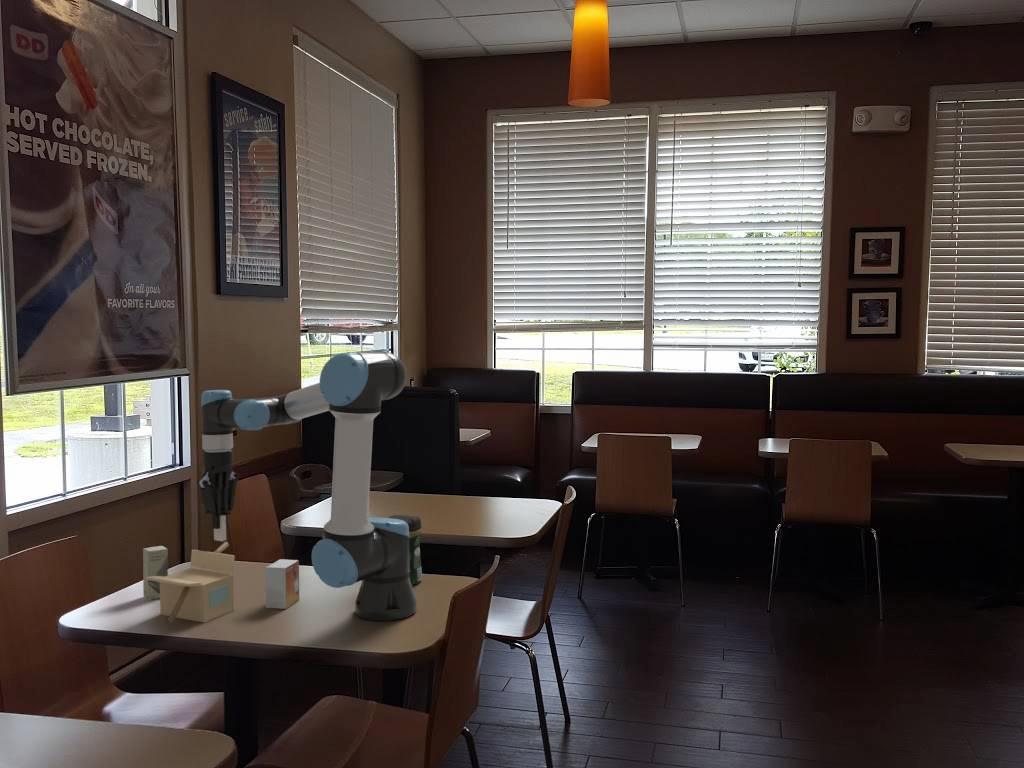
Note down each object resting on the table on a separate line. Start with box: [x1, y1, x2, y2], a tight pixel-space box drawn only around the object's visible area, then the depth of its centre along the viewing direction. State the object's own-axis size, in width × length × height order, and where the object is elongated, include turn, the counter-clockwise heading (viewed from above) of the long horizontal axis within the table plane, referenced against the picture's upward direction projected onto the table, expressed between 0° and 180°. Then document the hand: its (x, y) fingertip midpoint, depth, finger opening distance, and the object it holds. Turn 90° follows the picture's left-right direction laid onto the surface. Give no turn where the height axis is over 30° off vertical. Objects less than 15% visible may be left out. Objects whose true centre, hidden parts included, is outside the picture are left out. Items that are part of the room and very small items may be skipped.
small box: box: [264, 558, 300, 610], centre depth 221 cm, size 8×6×10 cm
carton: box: [159, 567, 235, 623], centre depth 215 cm, size 14×10×9 cm
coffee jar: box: [387, 514, 423, 586], centre depth 240 cm, size 10×8×19 cm
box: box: [142, 545, 169, 601], centre depth 227 cm, size 5×4×13 cm
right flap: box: [190, 541, 236, 573], centre depth 223 cm, size 14×6×9 cm
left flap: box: [146, 576, 201, 623], centre depth 207 cm, size 14×6×9 cm, turn 65°
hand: (220, 540), depth 226 cm, fingers closed
